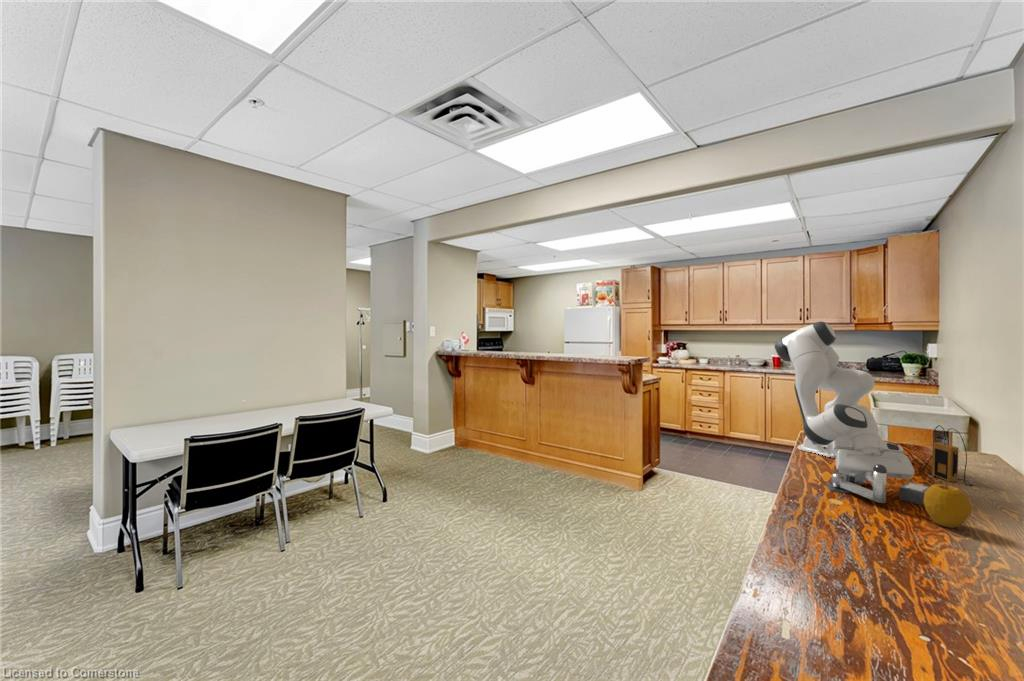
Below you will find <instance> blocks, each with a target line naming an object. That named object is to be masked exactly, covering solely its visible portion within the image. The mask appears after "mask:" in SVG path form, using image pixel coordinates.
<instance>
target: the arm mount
mask: <svg viewBox="0 0 1024 681" xmlns="http://www.w3.org/2000/svg"><path fill="white" fill-rule="evenodd" d="M825 486H826V487H827V488H828V490H829V491H830V492H833V493H834V492H835V493H842V494H850V495H852V494H853V492H851V491H849V490H846V489H844V488H838V487H834V486H832V483H828V482H826V483H825Z"/></svg>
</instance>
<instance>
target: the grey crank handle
mask: <svg viewBox="0 0 1024 681" xmlns="http://www.w3.org/2000/svg"><path fill="white" fill-rule="evenodd" d="M886 476H887V469H886V467H885V466H883V465H880V464H877V465H875V466H874V467H873V476H872V477H873V487H872V490H871V489H868V488H867V487H863V486H862V485H860V486H858V485H855V484H853V483H850V482H847V481H846V475H844V474H840V473H835V472H832V473H831V484H832V486H834V487H838V488H844V489H846V490H849V491H851V492H852V493H854V494H856V495H859V496H861V497H864V498H866V499H869V500H871V501H873V502H876V503H881V504H885V503H886V502H887V501H886V500H887V477H886Z"/></svg>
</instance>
